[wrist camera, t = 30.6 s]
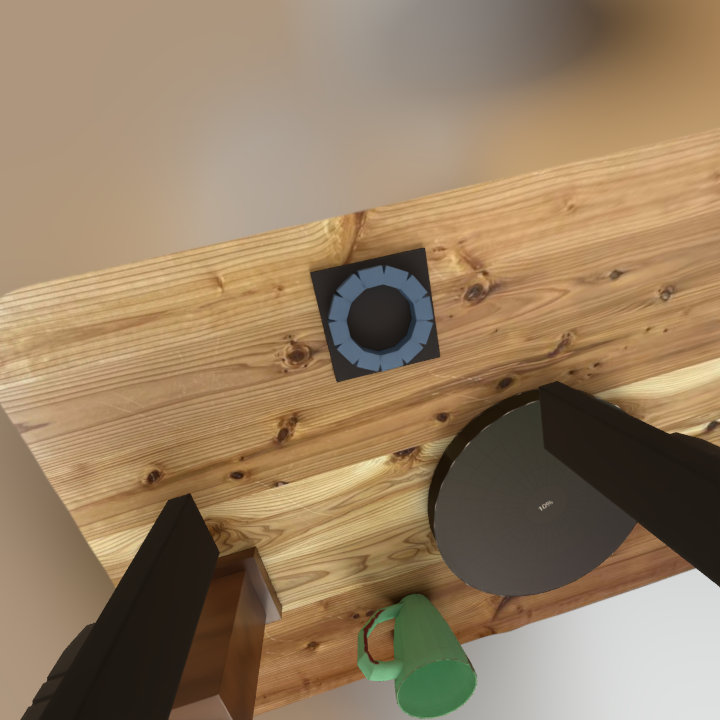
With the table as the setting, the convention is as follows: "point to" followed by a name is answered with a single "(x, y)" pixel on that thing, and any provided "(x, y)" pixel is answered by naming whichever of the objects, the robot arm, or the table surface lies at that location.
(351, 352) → the ring
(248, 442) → the table surface
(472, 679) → the mug
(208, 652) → the stand
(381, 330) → the mat
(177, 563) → the robot arm
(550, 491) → the disc
